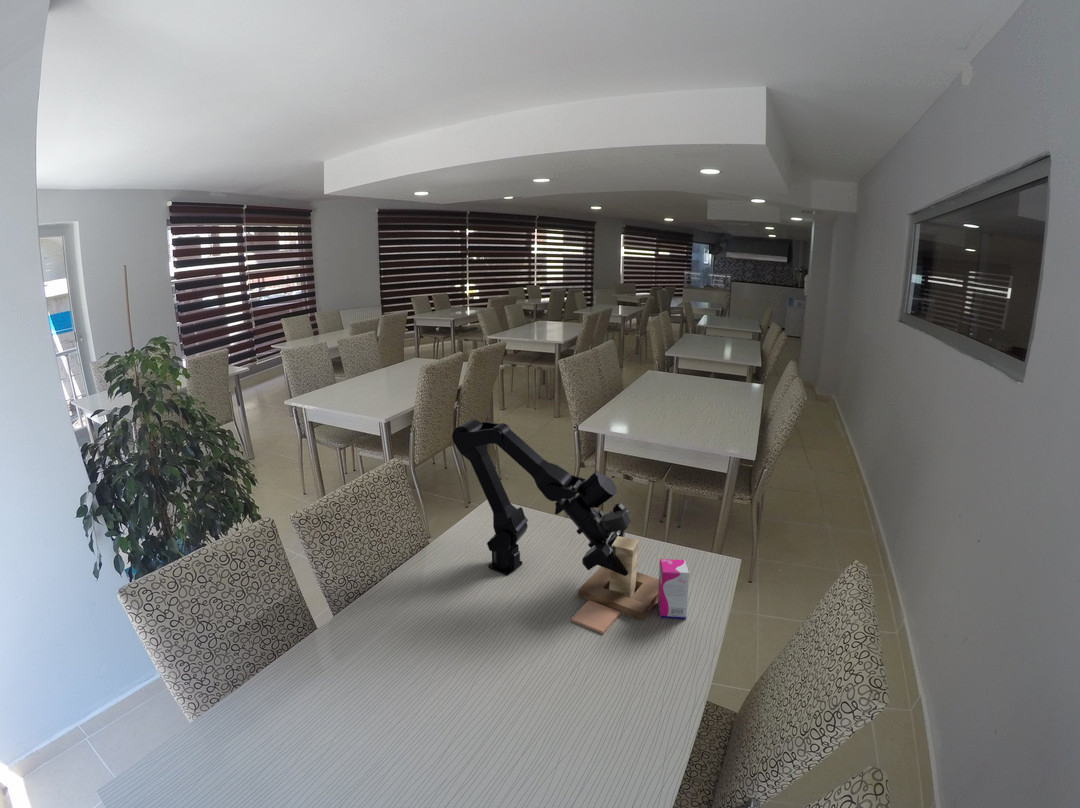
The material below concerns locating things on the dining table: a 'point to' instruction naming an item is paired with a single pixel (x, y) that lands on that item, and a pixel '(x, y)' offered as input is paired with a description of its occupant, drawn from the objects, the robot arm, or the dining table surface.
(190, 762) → the dining table surface
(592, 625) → the terracotta tile
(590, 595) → the pocket board
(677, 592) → the supplement box
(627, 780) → the dining table surface
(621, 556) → the maple block
